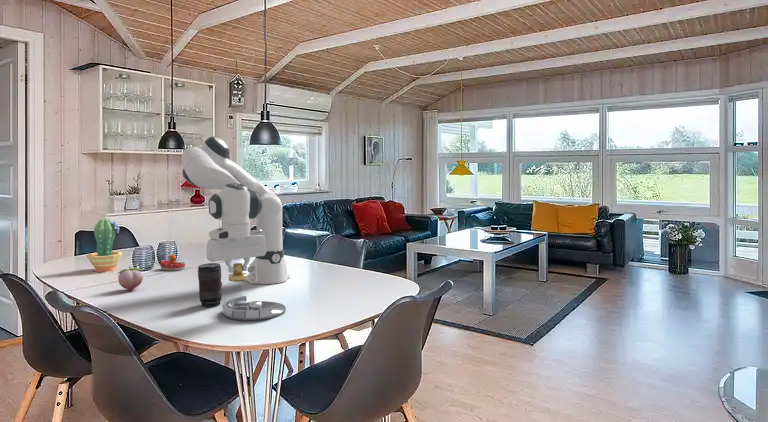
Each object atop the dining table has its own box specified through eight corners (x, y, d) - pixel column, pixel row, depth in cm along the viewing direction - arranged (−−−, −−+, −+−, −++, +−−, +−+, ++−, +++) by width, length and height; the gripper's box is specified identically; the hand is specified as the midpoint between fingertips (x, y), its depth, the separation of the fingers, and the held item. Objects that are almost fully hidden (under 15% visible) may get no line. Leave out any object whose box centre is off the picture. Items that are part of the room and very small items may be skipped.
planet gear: (226, 279, 176) (225, 263, 175) (242, 277, 179) (242, 261, 179) (232, 282, 171) (232, 266, 170) (249, 280, 175) (249, 264, 174)
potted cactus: (112, 273, 242) (110, 221, 240) (80, 273, 243) (77, 220, 240) (129, 266, 258) (127, 217, 256) (98, 266, 258) (96, 217, 256)
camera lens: (202, 302, 193) (201, 262, 192) (224, 301, 194) (223, 262, 192) (196, 308, 185) (195, 267, 183) (219, 307, 186) (218, 266, 184)
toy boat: (165, 267, 257) (165, 252, 256) (187, 268, 255) (187, 253, 255) (157, 271, 249) (156, 255, 248) (179, 271, 248) (179, 256, 247)
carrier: (213, 310, 182) (212, 301, 181) (268, 300, 195) (268, 291, 195) (238, 325, 165) (237, 315, 164) (297, 313, 178) (297, 304, 178)
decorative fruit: (138, 286, 217) (137, 263, 216) (146, 290, 211) (145, 266, 210) (114, 290, 210) (113, 266, 209) (121, 293, 204) (120, 269, 204)
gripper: (261, 228, 183) (261, 266, 184) (204, 232, 170) (205, 273, 171) (269, 230, 178) (269, 269, 179) (210, 234, 165) (212, 277, 166)
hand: (237, 271), depth 175 cm, fingers closed on planet gear, 3 cm apart
